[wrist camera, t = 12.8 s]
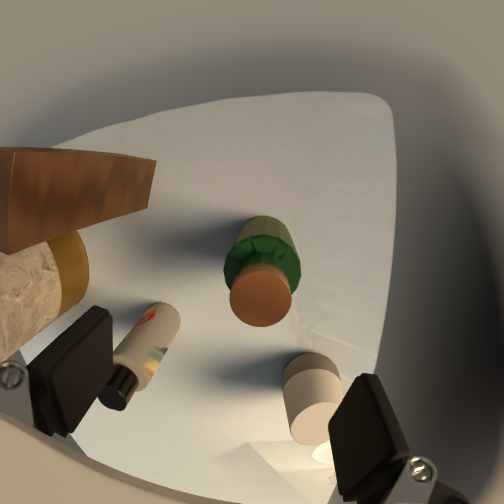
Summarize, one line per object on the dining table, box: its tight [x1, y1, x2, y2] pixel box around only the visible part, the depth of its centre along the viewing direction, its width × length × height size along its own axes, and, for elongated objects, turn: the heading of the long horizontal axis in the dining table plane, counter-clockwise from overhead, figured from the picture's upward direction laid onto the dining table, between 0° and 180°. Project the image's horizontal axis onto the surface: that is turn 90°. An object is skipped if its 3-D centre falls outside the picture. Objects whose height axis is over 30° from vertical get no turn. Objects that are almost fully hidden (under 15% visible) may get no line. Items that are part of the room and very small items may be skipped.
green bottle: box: [224, 216, 301, 295], centre depth 31 cm, size 7×7×17 cm
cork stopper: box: [230, 263, 292, 327], centre depth 23 cm, size 5×5×5 cm
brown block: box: [0, 147, 156, 256], centre depth 25 cm, size 7×7×26 cm
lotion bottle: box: [97, 303, 181, 411], centre depth 34 cm, size 6×6×20 cm
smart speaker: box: [282, 353, 343, 445], centre depth 38 cm, size 10×9×14 cm
